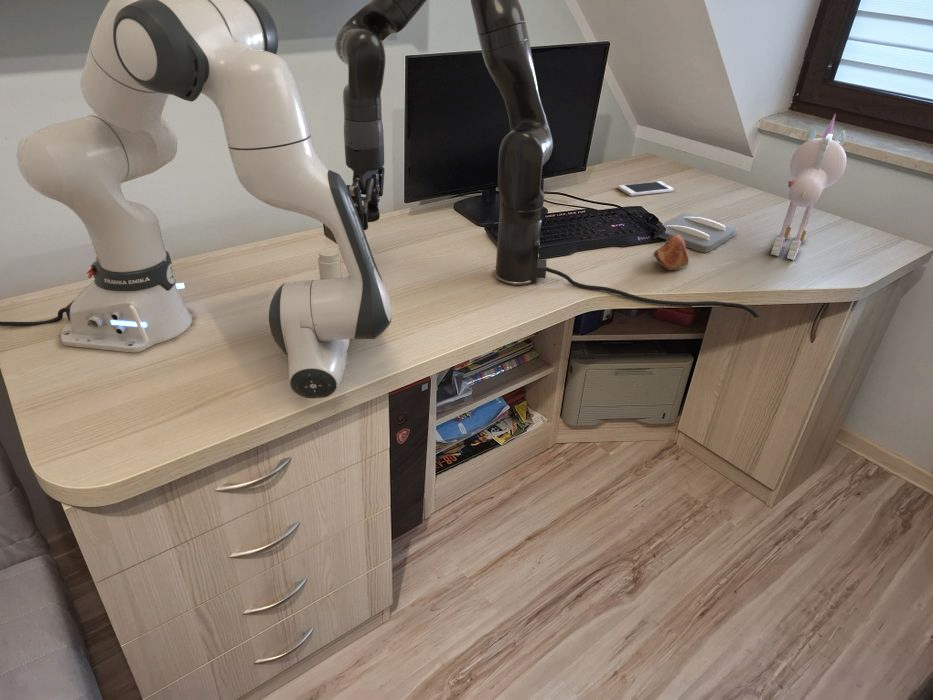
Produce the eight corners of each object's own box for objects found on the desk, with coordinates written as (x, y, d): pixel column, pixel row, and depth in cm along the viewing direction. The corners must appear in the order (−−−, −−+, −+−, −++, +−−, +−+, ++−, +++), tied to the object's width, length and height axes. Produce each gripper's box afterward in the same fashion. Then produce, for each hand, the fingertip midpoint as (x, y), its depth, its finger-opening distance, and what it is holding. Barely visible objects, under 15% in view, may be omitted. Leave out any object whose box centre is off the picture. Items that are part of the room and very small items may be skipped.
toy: (826, 222, 178) (867, 110, 161) (806, 269, 152) (852, 142, 135) (779, 212, 183) (814, 103, 167) (751, 256, 157) (789, 132, 141)
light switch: (708, 241, 156) (653, 223, 165) (705, 253, 158) (650, 234, 167) (740, 223, 167) (687, 206, 176) (737, 234, 169) (684, 217, 178)
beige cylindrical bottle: (341, 315, 128) (334, 244, 119) (350, 325, 125) (343, 253, 116) (321, 321, 126) (313, 249, 117) (330, 331, 123) (322, 258, 114)
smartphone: (617, 188, 196) (618, 185, 196) (659, 183, 201) (660, 180, 200) (630, 196, 191) (630, 193, 190) (673, 191, 196) (674, 188, 195)
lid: (373, 224, 129) (373, 216, 128) (350, 220, 130) (350, 212, 129) (383, 215, 133) (383, 207, 132) (360, 211, 134) (360, 204, 133)
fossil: (662, 265, 143) (667, 221, 144) (634, 267, 151) (640, 225, 151) (699, 275, 150) (704, 233, 150) (671, 277, 157) (676, 237, 157)
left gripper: (384, 315, 110) (387, 278, 121) (263, 316, 108) (277, 278, 120) (385, 345, 113) (388, 306, 125) (268, 347, 112) (282, 307, 123)
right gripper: (361, 129, 129) (365, 209, 139) (329, 149, 118) (336, 234, 127) (396, 134, 128) (397, 214, 137) (367, 154, 116) (370, 240, 126)
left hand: (333, 292), depth 122 cm, fingers closed on beige cylindrical bottle, 4 cm apart
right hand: (367, 223), depth 132 cm, fingers closed on lid, 5 cm apart
